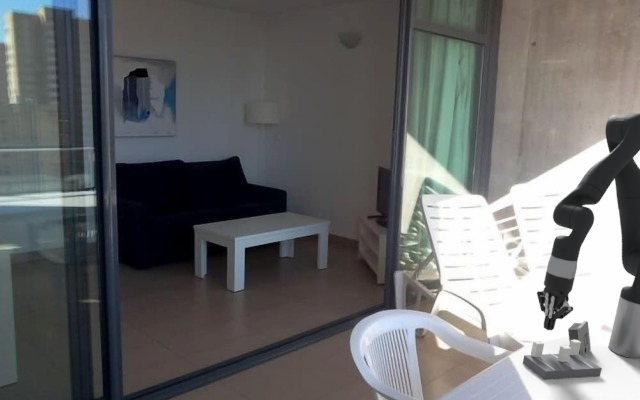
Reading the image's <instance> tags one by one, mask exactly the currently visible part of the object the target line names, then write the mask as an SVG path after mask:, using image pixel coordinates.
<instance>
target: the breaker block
mask: <svg viewBox="0 0 640 400" xmlns="http://www.w3.org/2000/svg"><path fill="white" fill-rule="evenodd" d="M558 355H559V353H548V354H547V353H545V354H544V353H542V357H534V356H532V355H531V354H524V356H523V360H522V365H524V366H525V367H526V368H528V369H529V370H531V371H532V372H533V373H534V374H536V375H537V376H539V378H541V379H543V380H544V381H546V380H547V381H549V380H564V379H580V378H595V377H601V373H602V369H603V367H601V366H600V365H598V364H596V363H595V362H593V361H592V360H590V359H589V358H587V357H586V356H585V357H584V356H582V355H581V354H579V355H570V357H569V362H561V361H559V360H558Z"/></svg>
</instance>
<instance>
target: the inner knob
mask: <svg viewBox="0 0 640 400" xmlns="http://www.w3.org/2000/svg"><path fill="white" fill-rule="evenodd" d="M580 345H581V342H580V341H578V340H575V339H574V340H570V342H569V345H568V347H570V348H571V352H570V355H579V350H580Z"/></svg>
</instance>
